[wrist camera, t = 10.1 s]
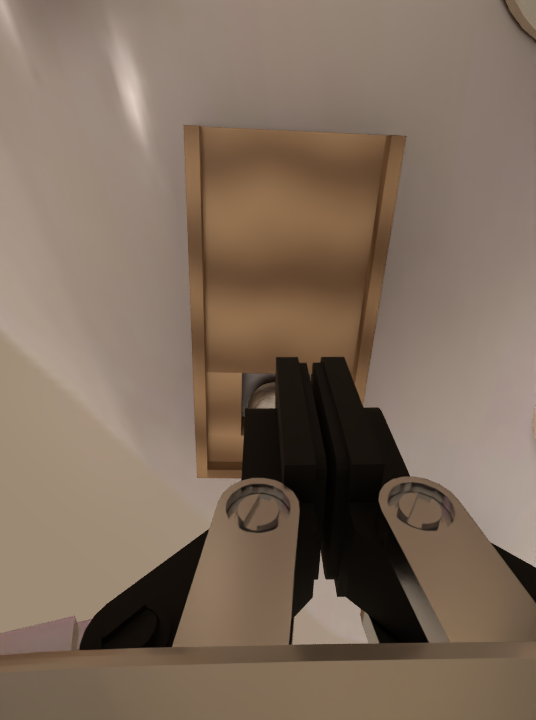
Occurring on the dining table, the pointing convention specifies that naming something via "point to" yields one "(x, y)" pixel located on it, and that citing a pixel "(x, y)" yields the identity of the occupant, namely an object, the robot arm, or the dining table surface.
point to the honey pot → (534, 423)
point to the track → (280, 262)
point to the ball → (263, 396)
